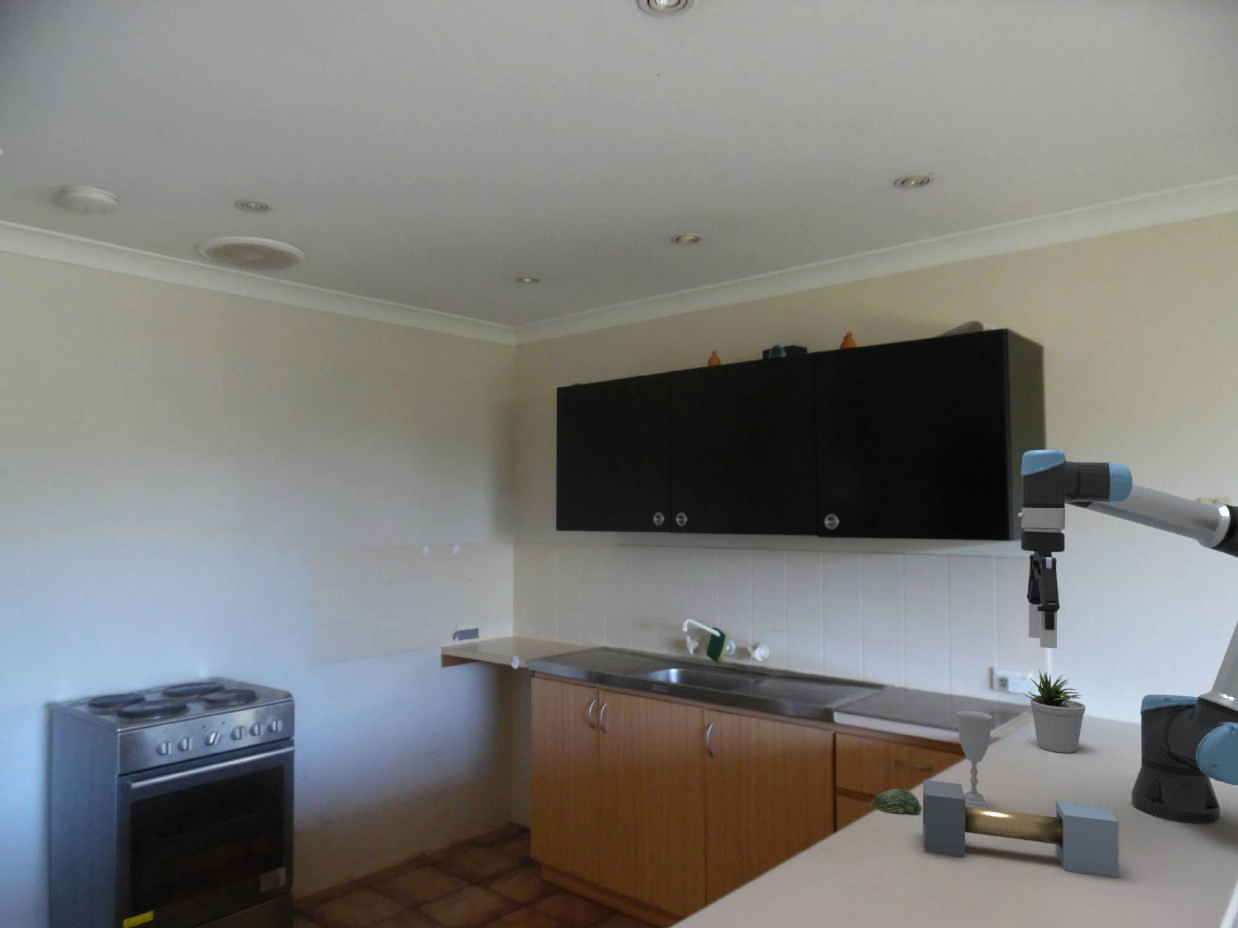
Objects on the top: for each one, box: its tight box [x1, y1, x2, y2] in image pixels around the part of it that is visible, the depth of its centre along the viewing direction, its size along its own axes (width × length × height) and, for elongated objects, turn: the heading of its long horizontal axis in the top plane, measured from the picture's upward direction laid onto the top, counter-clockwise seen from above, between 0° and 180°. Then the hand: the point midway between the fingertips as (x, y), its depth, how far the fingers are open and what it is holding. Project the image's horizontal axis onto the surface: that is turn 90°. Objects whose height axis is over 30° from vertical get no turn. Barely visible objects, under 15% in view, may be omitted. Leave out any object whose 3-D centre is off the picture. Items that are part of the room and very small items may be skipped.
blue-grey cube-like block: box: [1055, 799, 1120, 879], centre depth 147 cm, size 8×8×9 cm
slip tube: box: [965, 806, 1063, 845], centre depth 151 cm, size 22×4×4 cm, turn 73°
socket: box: [922, 779, 966, 858], centre depth 153 cm, size 6×9×10 cm
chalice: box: [956, 710, 993, 808], centre depth 175 cm, size 7×7×18 cm
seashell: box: [869, 788, 923, 816], centre depth 173 cm, size 10×4×10 cm
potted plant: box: [1024, 669, 1086, 754], centre depth 221 cm, size 13×14×20 cm
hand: (1042, 642), depth 165 cm, fingers open, 13 cm apart
